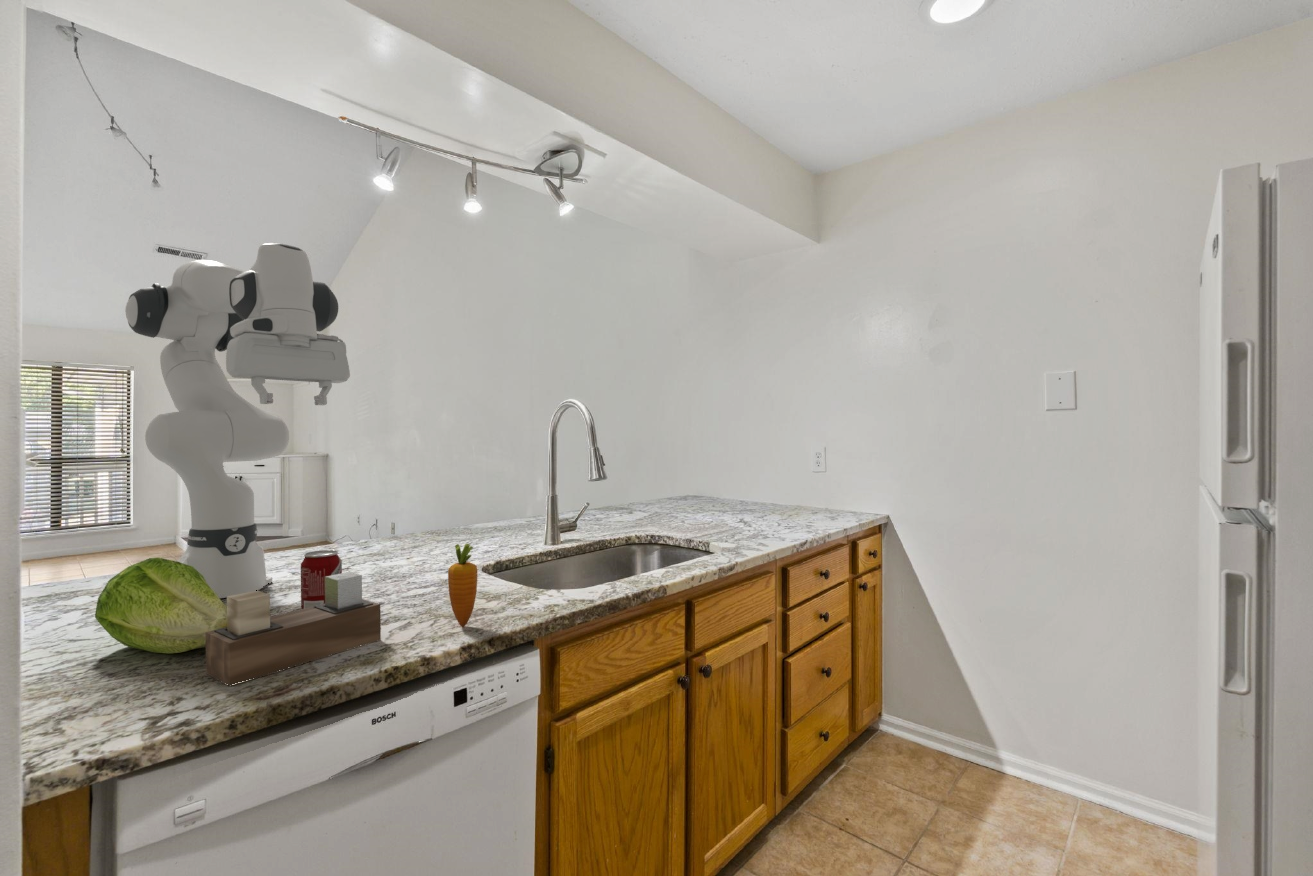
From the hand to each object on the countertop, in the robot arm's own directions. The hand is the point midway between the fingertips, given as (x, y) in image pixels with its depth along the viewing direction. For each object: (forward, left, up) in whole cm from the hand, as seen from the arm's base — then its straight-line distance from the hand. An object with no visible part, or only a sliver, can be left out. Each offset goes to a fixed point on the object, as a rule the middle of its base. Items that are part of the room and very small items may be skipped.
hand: (294, 404), depth 111 cm
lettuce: (+1, -18, -40) cm, 44 cm away
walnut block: (+19, -9, -40) cm, 45 cm away
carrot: (+29, +14, -40) cm, 52 cm away
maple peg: (+19, -16, -35) cm, 43 cm away
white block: (+19, -2, -35) cm, 40 cm away
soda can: (+2, +3, -40) cm, 40 cm away
